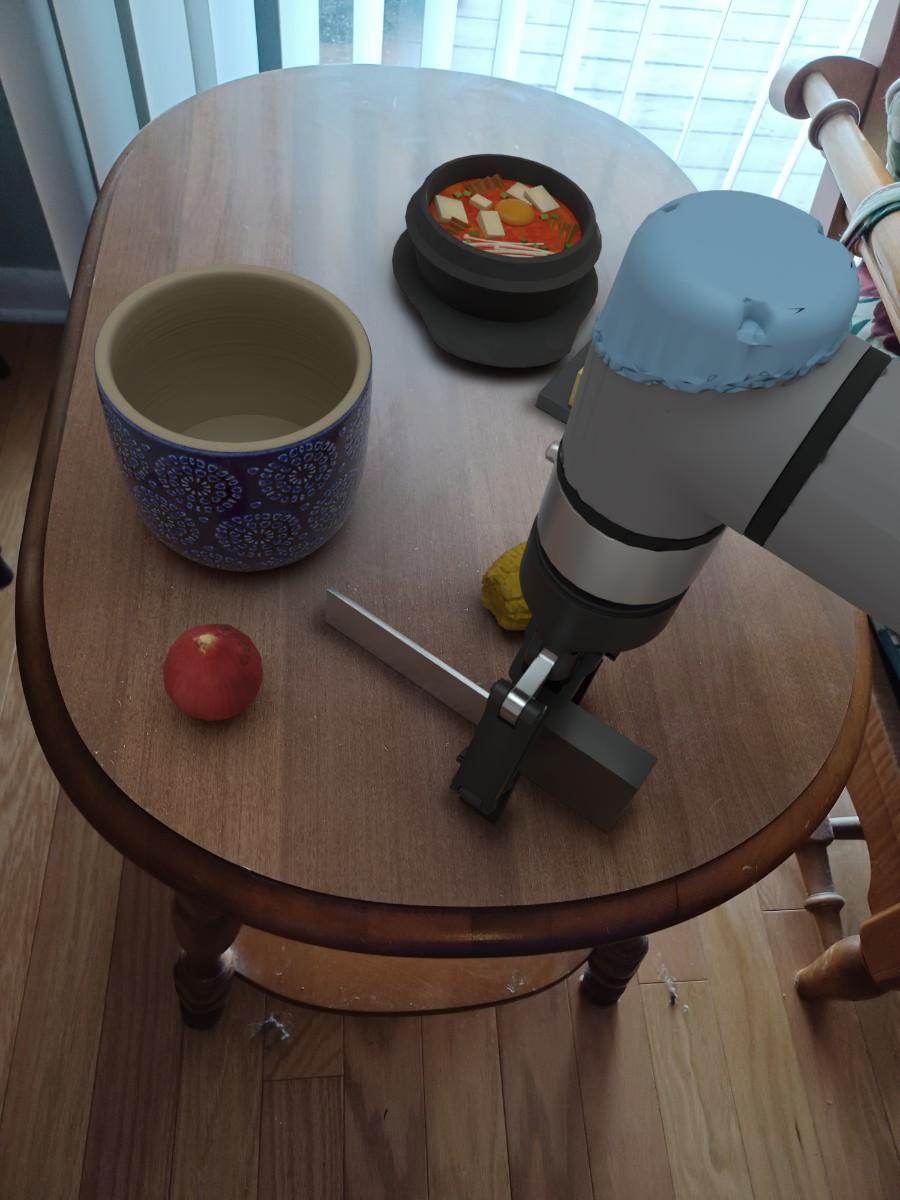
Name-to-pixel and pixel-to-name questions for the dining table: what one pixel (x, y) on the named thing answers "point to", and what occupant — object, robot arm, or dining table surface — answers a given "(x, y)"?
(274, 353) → the planter
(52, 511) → the dining table surface
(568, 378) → the board
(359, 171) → the dining table surface
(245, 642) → the onion
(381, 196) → the dining table surface
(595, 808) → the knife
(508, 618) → the food
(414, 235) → the casserole
